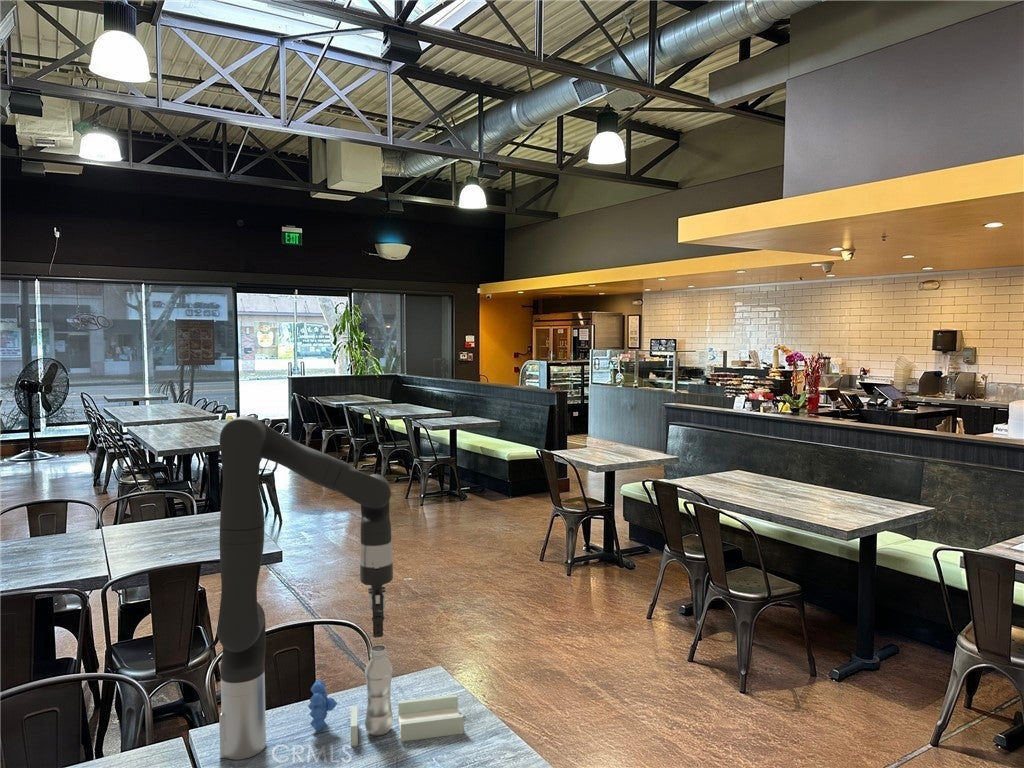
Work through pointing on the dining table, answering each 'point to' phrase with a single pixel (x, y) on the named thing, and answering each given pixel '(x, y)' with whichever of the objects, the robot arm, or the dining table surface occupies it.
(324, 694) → the grapes
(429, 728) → the cradle
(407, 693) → the dining table surface
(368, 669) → the silver metal bottle
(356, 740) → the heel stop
